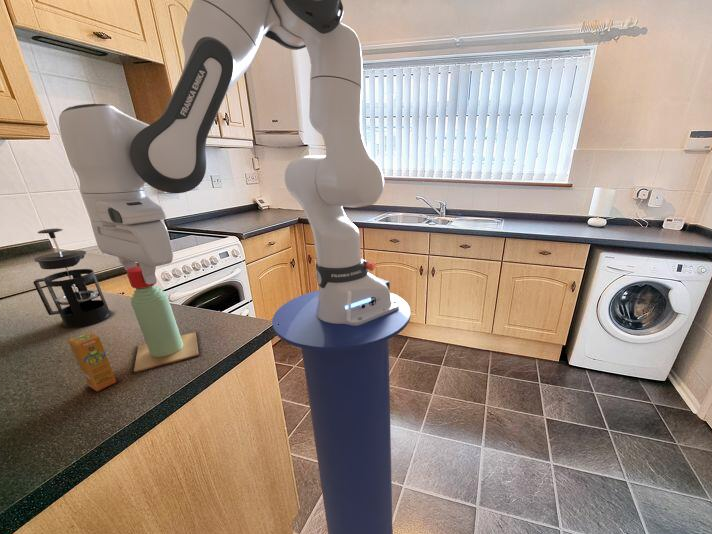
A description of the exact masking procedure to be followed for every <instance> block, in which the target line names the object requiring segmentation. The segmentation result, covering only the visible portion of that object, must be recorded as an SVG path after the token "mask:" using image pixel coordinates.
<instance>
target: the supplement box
mask: <svg viewBox="0 0 712 534" xmlns="http://www.w3.org/2000/svg"><path fill="white" fill-rule="evenodd" d="M67 341H68V344H69V346H70V348H71V350H72V352H73V354H74V356H75V359H76V361H77V363H78V365H79V368H80V370H81V372H82V374H83V376H84V379H85V382H86V384H87V386H88V387H89V388H91V389H92V390H94V391H96V392H99V391H101V390H103V389H106V388H107V387H110V386H112V385H114V384H116V383H117V380H116V376H115V374H114V372H113V369H112V366H111V364H110V361H109V359H108V356H107V353H106V351H105V348H104V346H103V343H102V340H101V338H100V336H98V335H97V334H95V333H93V332H92V331H89V332H86V333H84V334H81V335H78V336H75V337H72V338H69V339H68V340H67Z"/></svg>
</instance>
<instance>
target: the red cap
mask: <svg viewBox="0 0 712 534" xmlns="http://www.w3.org/2000/svg"><path fill="white" fill-rule="evenodd" d="M125 272H126V276H127V278H128V281H129V283H130V287H131V288H132V289H136V288H144V287H149V286H152V285H154V284H155V285H156V284H157V282H158V281H156V283H153V284H146V283H143V281H142V278H141V275H142V268H140V266H139V265H137V267H133V268H130V269H127V270H125Z"/></svg>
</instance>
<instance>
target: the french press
mask: <svg viewBox="0 0 712 534" xmlns="http://www.w3.org/2000/svg"><path fill="white" fill-rule="evenodd" d="M63 230H64V229H63V228H58V227H57V228H46V229H42V230H39V231H37V234H48V236H49V237H50V239H52V241H53V243H54V245H55V247H56V250H57V251H56V252H51V253H47V254H42V255H39V256H37V257H34V259H33V260H34V262H35V263H38V264H39V266H40V269H41V270H59V269H60V270H61V269H65V271H60V272H56V273H53V274H49V275H47V276H46V277H43V278H42V277H41V278H36V279H35V280H34V281H33V282H32V283H33V285H34V287H35V289H36V291H37V293H38V295H39V298H40V299H41V302H42V304H43V306H44V308H45V310H46V312H47V314H48V315H49V316H54V315H59V316H60V318H61V320H62V325H63V326H64V327H65V328H71V329H72V328H74V329H75V328H82V327H88V326H91V325H95V324H98V323H100V322H102V321H105V320H107V319H108V318H110V317H111V316H112V311H111V310H110V309H109V307H108V304H107V301H106V299H105V297H104V293H103V291H102V289H101V287H100V284H99V281H98V279H97V276H96V274H95V272H94V269H92V268H90V269H89V268H79V269H78V268H77V269H70V270H69V268H71V267H74V266H77V265H78V264H79V263H80V261H81V260H83V259H84V258H85V255H87V252H86V250H75V249H74V250H63V251H61V249H60V247H59V245H58V243H57V240H56V238H57V237H56V233H59V232H62V231H63ZM66 277H69V279H64V280H59V279H62V278H66ZM90 280H93V282H94V284H95V287H96V289H88V286H87V285H86V283H85V282H88V281H90ZM41 282H44V284H45V286H46V287H47V290H48V292H49V294H50V296H51V298H52V300H53V303H54V305H55V307H56V309H57V310H53V309H52V307H51V305H50V303H49V301H48V299H47V297H46V295H45V293H44V290H43V288H42V286H41V284H40V283H41ZM53 287H55V288H57V287H60V288H61V289H62V292H63V294H64V295H61V296H58V297H57V295H56V293H55V290H54V288H53ZM98 297H100V299H97V298H98ZM62 306H65V307H63V308H62Z"/></svg>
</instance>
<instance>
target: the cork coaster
mask: <svg viewBox="0 0 712 534" xmlns="http://www.w3.org/2000/svg"><path fill="white" fill-rule="evenodd" d="M180 336H181V339H182V342H183V347H182V349H180V350H179V351H178V352H176V353H173V354H171V355H168V356H163V357H153V356H151V354H150V352H149V349H148V346H147V344H146V343H143V344H142V343H141V344H139V345H137V350H136V355H135V361H134V368H133V372H134V373H139V372H141V371H146V370H150V369H152V368H157V367H161V366H164V365H169V364H172V363H176V362H179V361H183V360H187V359H191V358H195V357H199V356H200V354H199V346H198V338H197V333H196V331H194V332H190V333H185V334H180Z"/></svg>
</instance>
